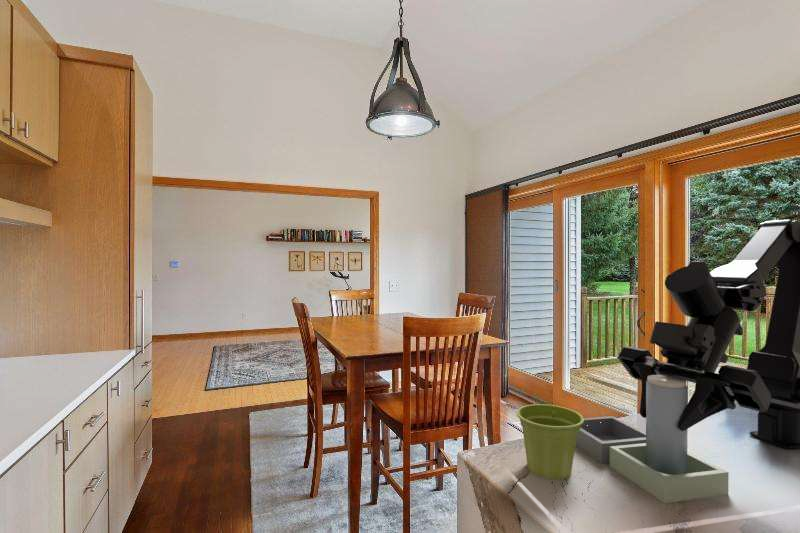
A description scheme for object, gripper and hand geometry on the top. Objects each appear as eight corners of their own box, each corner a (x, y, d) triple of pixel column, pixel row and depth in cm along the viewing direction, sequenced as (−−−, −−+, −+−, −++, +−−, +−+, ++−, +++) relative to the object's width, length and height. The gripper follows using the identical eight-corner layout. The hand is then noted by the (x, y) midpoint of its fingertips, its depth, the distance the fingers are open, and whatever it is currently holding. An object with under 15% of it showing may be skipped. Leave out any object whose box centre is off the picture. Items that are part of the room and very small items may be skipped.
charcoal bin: (612, 435, 77) (612, 416, 77) (657, 460, 67) (657, 438, 67) (563, 439, 75) (563, 420, 75) (601, 466, 65) (601, 443, 65)
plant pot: (590, 492, 58) (590, 428, 58) (518, 484, 59) (519, 423, 59) (575, 461, 67) (576, 406, 67) (514, 455, 69) (514, 402, 69)
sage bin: (665, 463, 66) (665, 441, 66) (728, 498, 56) (728, 472, 56) (609, 469, 64) (609, 446, 64) (664, 507, 54) (664, 479, 54)
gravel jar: (657, 455, 64) (657, 372, 64) (694, 469, 59) (694, 380, 59) (638, 463, 61) (639, 377, 61) (675, 478, 57) (676, 386, 57)
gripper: (624, 297, 70) (577, 371, 65) (760, 308, 53) (710, 408, 49) (654, 340, 74) (611, 414, 69) (790, 363, 57) (746, 462, 52)
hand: (660, 422), depth 60 cm, fingers closed on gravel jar, 5 cm apart
